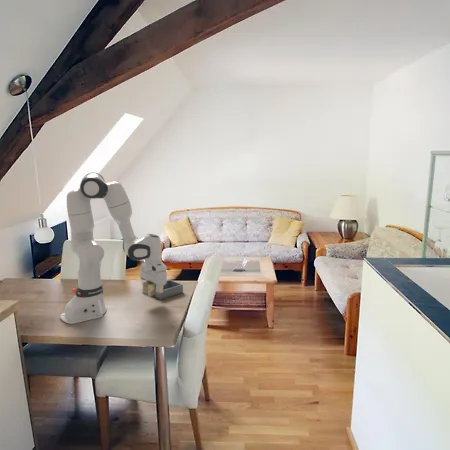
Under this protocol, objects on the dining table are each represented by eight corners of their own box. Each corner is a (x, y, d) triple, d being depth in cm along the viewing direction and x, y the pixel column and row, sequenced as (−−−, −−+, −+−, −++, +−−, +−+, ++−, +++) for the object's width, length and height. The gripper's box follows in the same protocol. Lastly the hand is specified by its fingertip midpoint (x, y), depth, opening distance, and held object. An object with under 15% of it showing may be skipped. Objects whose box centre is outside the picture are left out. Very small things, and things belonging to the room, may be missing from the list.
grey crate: (160, 300, 221) (160, 291, 220) (148, 294, 230) (148, 286, 229) (183, 292, 231) (182, 284, 230) (170, 287, 240) (170, 279, 239)
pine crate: (149, 296, 209) (148, 285, 207) (142, 293, 213) (142, 282, 212) (163, 292, 215) (163, 282, 214) (156, 289, 219) (156, 279, 218)
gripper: (137, 261, 216) (137, 285, 219) (158, 269, 202) (158, 295, 204) (147, 259, 220) (147, 283, 223) (168, 267, 206) (168, 293, 208)
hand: (152, 289), depth 213 cm, fingers closed on pine crate, 6 cm apart
